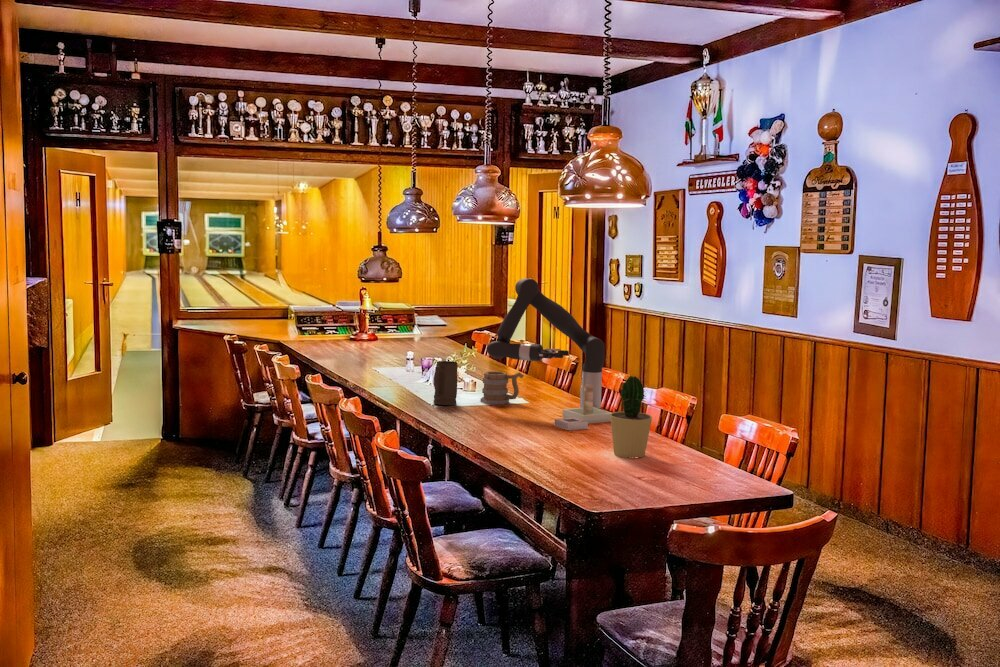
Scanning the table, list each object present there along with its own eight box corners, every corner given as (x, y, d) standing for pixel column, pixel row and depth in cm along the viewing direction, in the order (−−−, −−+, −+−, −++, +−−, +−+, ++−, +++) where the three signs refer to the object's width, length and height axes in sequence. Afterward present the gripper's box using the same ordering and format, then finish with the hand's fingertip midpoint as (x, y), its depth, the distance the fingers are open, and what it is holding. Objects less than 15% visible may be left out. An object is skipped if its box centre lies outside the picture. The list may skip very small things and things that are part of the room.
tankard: (478, 403, 440) (478, 371, 438) (486, 398, 452) (487, 368, 450) (518, 406, 434) (519, 374, 433) (525, 402, 446) (526, 371, 445)
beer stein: (439, 401, 441) (440, 359, 439) (460, 403, 438) (461, 361, 436) (426, 406, 427) (427, 363, 425) (447, 408, 423) (449, 365, 421)
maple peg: (581, 416, 410) (582, 384, 409) (588, 415, 412) (590, 384, 411) (586, 417, 407) (587, 386, 405) (593, 417, 409) (595, 385, 407)
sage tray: (562, 416, 413) (562, 409, 412) (592, 414, 420) (592, 406, 420) (583, 423, 399) (583, 415, 398) (613, 421, 407) (613, 413, 406)
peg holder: (554, 425, 393) (554, 418, 392) (574, 424, 398) (574, 417, 397) (567, 430, 384) (567, 423, 384) (587, 428, 389) (587, 421, 389)
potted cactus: (601, 451, 350) (604, 371, 346) (637, 448, 355) (641, 371, 352) (620, 460, 335) (624, 378, 332) (657, 458, 341) (662, 377, 337)
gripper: (526, 345, 409) (561, 347, 403) (536, 342, 422) (570, 344, 417) (525, 362, 410) (561, 365, 404) (535, 358, 423) (570, 360, 418)
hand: (565, 354), depth 410 cm, fingers open, 8 cm apart
